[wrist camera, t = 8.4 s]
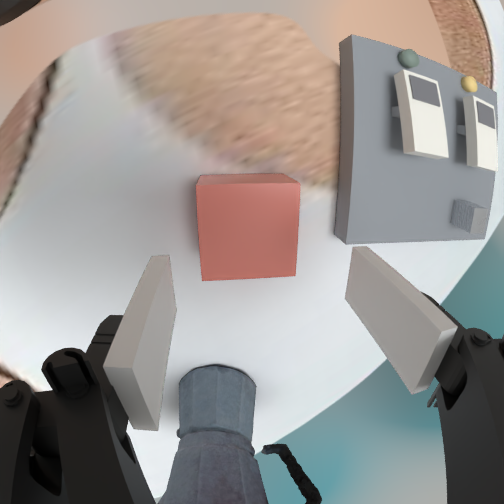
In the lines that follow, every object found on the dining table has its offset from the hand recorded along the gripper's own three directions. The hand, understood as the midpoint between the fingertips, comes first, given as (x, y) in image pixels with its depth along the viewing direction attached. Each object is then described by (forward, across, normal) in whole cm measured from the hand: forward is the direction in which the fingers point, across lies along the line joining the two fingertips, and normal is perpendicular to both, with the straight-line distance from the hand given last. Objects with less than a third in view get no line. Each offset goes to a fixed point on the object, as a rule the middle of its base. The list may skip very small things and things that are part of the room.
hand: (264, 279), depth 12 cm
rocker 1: (+7, +13, +9) cm, 17 cm away
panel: (+11, +18, +6) cm, 22 cm away
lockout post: (+9, +21, +1) cm, 23 cm away
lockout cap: (+11, 0, 0) cm, 11 cm away
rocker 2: (+7, +21, +9) cm, 24 cm away
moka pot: (+11, -3, -20) cm, 23 cm away
